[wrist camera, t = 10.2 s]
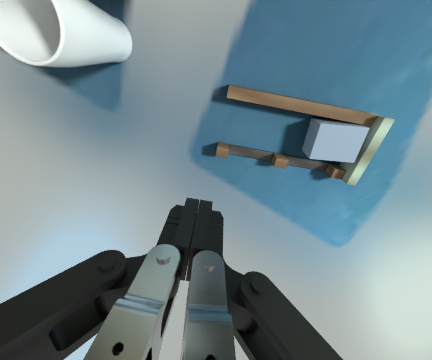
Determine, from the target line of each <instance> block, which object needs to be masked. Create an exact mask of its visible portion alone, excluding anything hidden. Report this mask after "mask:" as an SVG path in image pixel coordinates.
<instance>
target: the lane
mask: <svg viewBox="0 0 432 360" xmlns="http://www.w3.org/2000/svg"><path fill="white" fill-rule="evenodd" d="M227 98H231V99H236V100H241V101H246V102H251V103H256V104H261V105H266V106H271V107H276V108H281V109H286V110H292V111H297V112H302V113H307V114H312V115H317V116H322V117H327V118H332V119H337V120H342V121H347V122H352V123H357V124H362V125H364V126H367V127H369V128H370V129H369V131H368V133H367V135H366V138H365V140H364V142H363V144H362V146H361V149H360V151H359V153H358V155H357V157H356V160H355V162H354V163H350V162H341V163H340V165H337V164H331V163H326V162H321V161H315V160H310V159H305V158H300V157H294V156H289V155H286V156H285V155H284V154H278V153H274V154H273V152H268V151H263V150H257V149H252V148H247V147H241V146H236V145H231V144H230V149H229V144H226V143H220V142H218V145H217V150H216V156H219V157H224V158H228V153H229V154H234V155H239V156H244V157H250V158H255V159H260V160H266V161H271V162H272V164H273V166H274V167H278V168H283V169H286V166H287V165H293V166H298V167H303V168H309V169H314V170H319V171H325V172H326V173H327V174H328V175H329V176H330V177H331V178H337V179H342V180H343V181H344V182H345V183H346V184H350V185H356V183H357V182H358V180H359V179H360V177H361V175H362V174H363V172H364V170H365V169H366V167H367V165H368V164H369V162H370V160H371V159H372V157H373V155H374V154H375V152H376V150H377V149H378V147H379V145H380V144H381V142H382V141H383V139H384V137H385V136H386V134H387V132H388V131H389V129H390V127H391V126H392V124H393V122H394V121H395V120H394V119H391V118H388V117H384V116H381V115H378V114H373V113H368V112H363V111H358V110H353V109H348V108H343V107H338V106H333V105H328V104H323V103H318V102H313V101H309V100H304V99H299V98H294V97H289V96H284V95H279V94H274V93H269V92H264V91H259V90H254V89H249V88H244V87H239V86H234V85H229V87H228V92H227ZM272 155H273V157H272ZM271 158H272V160H271Z"/></svg>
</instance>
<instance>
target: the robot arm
mask: <svg viewBox="0 0 432 360" xmlns="http://www.w3.org/2000/svg"><path fill="white" fill-rule="evenodd" d="M198 206H199V209H198ZM197 213H198V214H197ZM188 261H189V262H188ZM187 266H188V271H187ZM186 271H187V277H186V281H189V288H188V295H187V303H186V314H185V323H184V333H183V342H182V352H181V360H236V358H235V346H234V336H235V338H236V339H237V341H238V343H239V344H240V346H241V347H242V349H243V350H244V352H245V354H246V355H247V357H248V358H249V360H343V359H342V358H341V357H340V356H339V355H338V354H337V353H336V351H335V350H334V349H333V348H332V347H331V346H330V345H329V344H328V343H327V342H326V341H325V339H324V338H323V337H322V336H321V335H320V334H319V333H318V332H317V331H316V330H315V329H314V328H313V326H312V325H311V324H310V323H309V322H308V321H307V320H306V319H305V318H304V317H303V316H302V314H301V313H300V312H299V311H298V310H297V309H296V308H295V307H294V306H293V305H292V303H291V302H290V301H289V300H288V299H287V298H286V297H285V296H284V295H283V294H282V293H281V292H280V291H279V290H278V288H277V287H276V286H275V285H274V284H273V283H272V282H271V281H270V280H269V278H267V277H266V276H265V275H263V274H261V273H259V272H254V271H253V272H248V273H246V274H245V275H243V274H241V273H238V272H236V271H234V270H232V269H231V268H230V267H229V266H228V265H227V264H226V263H225V261H224V259H223V216H222V214H221V213H220V212H219V211H212V202H211V201H204V200H200V204H199V200H198V199H192V198H187V199H186V202H185V206H180V205H176V206H175V207H173V208H172V209H171V210H170V213H169V215H168V218H167V220H166V223H165V225H164V227H163V230H162V232H161V235H160V237H159V240H158V243H157V245H156V246H155V247H153V248H152V249H151V250H150V251H149V252H148V253H147V254H145V255H142V256H138V257H131V258H125V256H124V254H123V253H121V252H120V251H117V250H107V251H104V252H101V253H98V254H97V255H95V256H93V257H91V258H89V259H87V260H85V261H83V262H81V263H79V264H77V265H75V266H74V267H71V268H69V269H67V270H65V271H64V272H62V273H59V274H58V275H56V276H54V277H52V278H50V279H48V280H46V281H44V282H42V283H40V284H38V285H36V286H34V287H32V288H30V289H28V290H26V291H24V292H22V293H20V294H19V295H17V296H15V297H13V298H11V299H9V300H7V301H5V302H3V303H1V304H0V360H64V359H65V358H66V357H67V356H69V355H70V354H71V353H72V352H74V351H75V350H76V349H78V348H79V347H80V346H82V345H83V344H84V343H85V342H87V341H88V340H89V339H91V338H92V337H93V336H95V335H96V334H97V333H98V334H97V336H96V338H95V340H94V341H93V343H92V345H91V346H90V348H89V350H88V352H87V354H86V355H85V357H84V359H83V360H158V358H159V354H160V349H161V344H162V341H163V337H164V334H165V331H166V327H167V323H168V321H169V317H170V314H171V311H172V307H173V304H174V301H175V297H176V293H177V291H178V287H179V283H180V280H185V276H186Z"/></svg>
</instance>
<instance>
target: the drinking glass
mask: <svg viewBox="0 0 432 360" xmlns="http://www.w3.org/2000/svg"><path fill="white" fill-rule="evenodd" d="M0 47H1V48H2V49H3V50H5V51H6V52H7V53H8V54H10V55H11V56H12V57H14V58H15V59H17V60H19V61H21V62H23V63H26V64H29V65H34V66H44V67H80V66H88V65H95V64H102V63H110V62H116V63H118V62H123V61H125V60H126V59H127V58H128V57H129V56H130V54H131V51H132V38H131V35H130V32H129V30H128V29H127V27H126V26H125V25H124V24H123V23H122V22H121V21H120V20H119V19H117V18H115V17H113V16H111V15H109V14H108V13H106V12H105V11H103V10H102V9H100V8H99V7H97V6H96V5H94V4H93V3H91V2H90V1H88V0H0Z"/></svg>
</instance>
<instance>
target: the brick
mask: <svg viewBox="0 0 432 360" xmlns="http://www.w3.org/2000/svg"><path fill="white" fill-rule="evenodd" d="M369 129H370V128H369V127H367V126H364V125H362V124H357V123H352V122H347V121H341V120H330V119H319V118H311V121H310V124H309V128H308V131H307V134H306V138H305V141H304V144H303V148H302V151H303V152H304V153H305V154H306V155H307V157H308V158H309V159H318V160H329V161H340V162H350V163H354V162H355V160H356V157H357V155H358V153H359V151H360V149H361V146H362V144H363V142H364V140H365V138H366V135H367V133H368V131H369Z"/></svg>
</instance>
